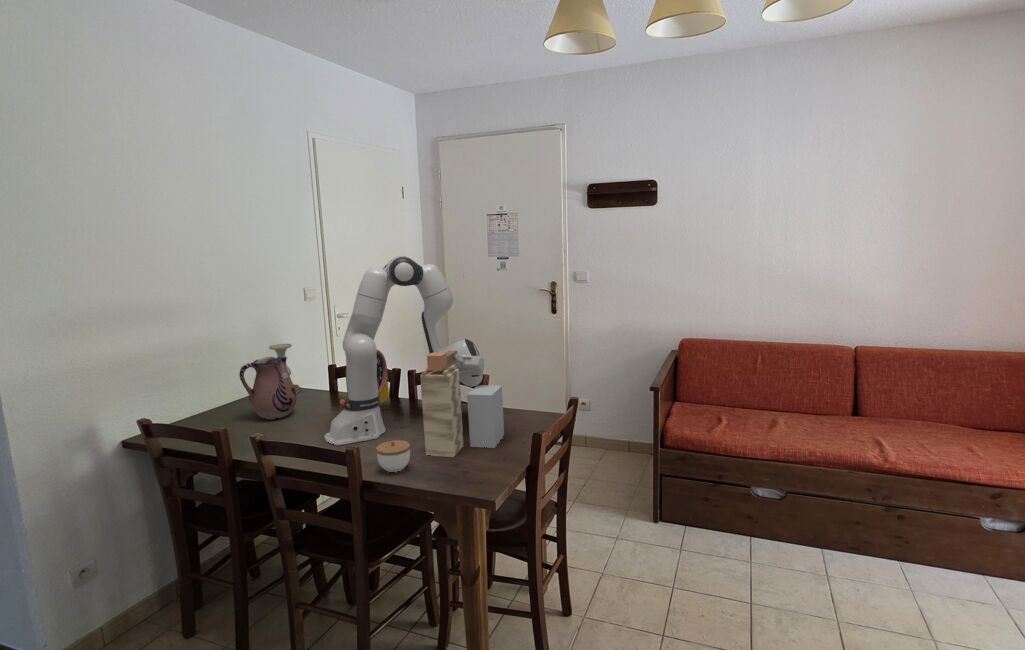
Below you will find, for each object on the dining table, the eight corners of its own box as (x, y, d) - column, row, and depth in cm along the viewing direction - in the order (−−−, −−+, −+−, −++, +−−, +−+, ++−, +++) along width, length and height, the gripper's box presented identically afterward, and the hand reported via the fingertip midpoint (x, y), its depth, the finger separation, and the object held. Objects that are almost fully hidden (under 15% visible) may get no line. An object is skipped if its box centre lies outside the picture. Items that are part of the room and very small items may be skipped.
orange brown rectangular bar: (447, 358, 214) (446, 344, 213) (460, 358, 213) (459, 345, 212) (427, 370, 197) (426, 355, 196) (441, 370, 196) (441, 355, 195)
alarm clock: (367, 412, 253) (361, 351, 249) (348, 411, 256) (342, 351, 251) (390, 398, 273) (385, 342, 269) (372, 397, 276) (367, 341, 271)
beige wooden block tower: (437, 444, 211) (431, 364, 207) (463, 446, 209) (458, 364, 204) (425, 455, 202) (419, 371, 197) (453, 457, 199) (448, 371, 194)
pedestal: (480, 434, 220) (478, 385, 216) (504, 436, 217) (501, 385, 214) (470, 446, 208) (467, 394, 205) (494, 448, 206) (492, 395, 203)
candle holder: (301, 390, 293) (296, 343, 289) (289, 397, 282) (284, 348, 279) (281, 390, 295) (276, 343, 291) (268, 396, 285) (263, 348, 281)
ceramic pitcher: (306, 414, 254) (300, 357, 250) (258, 428, 238) (251, 367, 234) (284, 407, 265) (278, 353, 261) (238, 420, 249) (230, 362, 245)
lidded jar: (380, 463, 197) (377, 436, 195) (412, 461, 198) (410, 434, 196) (375, 477, 186) (373, 448, 185) (410, 474, 187) (408, 446, 185)
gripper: (436, 358, 225) (423, 346, 213) (488, 359, 220) (477, 348, 207) (434, 374, 223) (420, 363, 211) (486, 376, 218) (475, 365, 205)
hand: (449, 355), depth 209 cm, fingers closed on orange brown rectangular bar, 3 cm apart
